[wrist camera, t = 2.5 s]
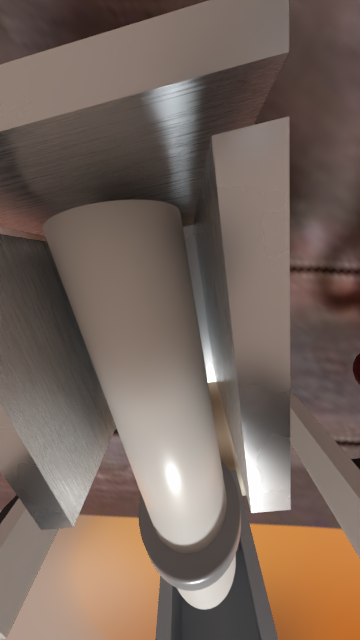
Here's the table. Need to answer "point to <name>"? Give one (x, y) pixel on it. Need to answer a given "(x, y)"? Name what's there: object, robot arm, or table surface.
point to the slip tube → (154, 382)
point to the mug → (357, 368)
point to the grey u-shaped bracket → (160, 185)
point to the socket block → (233, 612)
